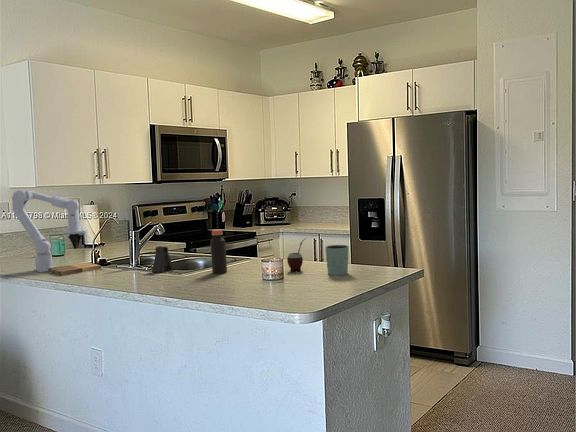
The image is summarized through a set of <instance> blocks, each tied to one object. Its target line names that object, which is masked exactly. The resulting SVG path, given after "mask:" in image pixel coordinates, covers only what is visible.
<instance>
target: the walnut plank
mask: <svg viewBox="0 0 576 432" xmlns="http://www.w3.org/2000/svg"><path fill="white" fill-rule="evenodd" d="M68 265H69V264H67V265H61V266H60V265H59V266H56V267H55V266H53V268H48V271H47V272H48V273H50V274H54V275H58V276H60V277H63V276H68V275H74V274H80V273H81V272H82V269H81V268H77V267H72V266H68ZM82 273H83V272H82Z"/></svg>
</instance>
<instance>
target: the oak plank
mask: <svg viewBox="0 0 576 432" xmlns="http://www.w3.org/2000/svg"><path fill="white" fill-rule="evenodd" d="M67 265H68V266H72V267H77V268H81V269H82V273H87V272H86V271H88V272H93V270H94V271H99V270H102V265H100V264H96V263H91V262H81V263H74V264H67Z"/></svg>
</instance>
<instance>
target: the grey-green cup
mask: <svg viewBox="0 0 576 432" xmlns="http://www.w3.org/2000/svg"><path fill="white" fill-rule="evenodd" d="M349 248H350V247H349V245H345V244H331V245H327V246H325V257H326V268H327V274H328V275H329V276H336V277H337V276H346V275H348V270H349Z"/></svg>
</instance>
